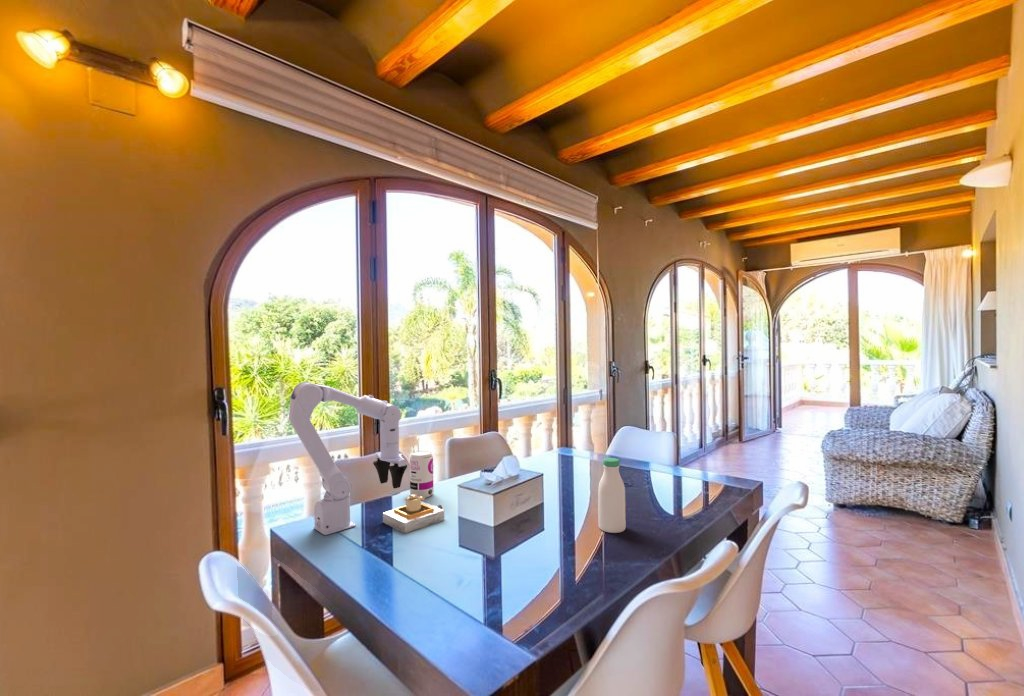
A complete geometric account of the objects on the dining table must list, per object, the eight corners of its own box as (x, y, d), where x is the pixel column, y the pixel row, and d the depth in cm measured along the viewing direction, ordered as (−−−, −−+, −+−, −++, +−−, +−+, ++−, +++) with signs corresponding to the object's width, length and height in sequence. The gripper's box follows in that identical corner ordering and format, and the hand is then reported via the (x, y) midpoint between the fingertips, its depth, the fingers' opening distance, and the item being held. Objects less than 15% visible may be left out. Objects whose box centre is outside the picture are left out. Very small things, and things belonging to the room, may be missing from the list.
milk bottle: (626, 534, 130) (625, 463, 130) (598, 532, 131) (597, 462, 131) (625, 524, 137) (624, 456, 137) (598, 522, 139) (597, 455, 139)
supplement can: (436, 491, 170) (435, 450, 170) (429, 499, 162) (429, 456, 162) (414, 491, 171) (413, 450, 171) (407, 498, 162) (406, 455, 162)
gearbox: (404, 533, 132) (404, 520, 132) (382, 522, 141) (382, 510, 141) (452, 517, 144) (452, 505, 144) (429, 508, 153) (429, 496, 153)
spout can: (411, 525, 138) (411, 498, 138) (403, 521, 141) (402, 495, 141) (428, 519, 143) (428, 493, 143) (419, 516, 146) (419, 490, 146)
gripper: (413, 443, 145) (413, 486, 145) (388, 437, 155) (389, 478, 155) (393, 447, 140) (393, 492, 140) (369, 440, 150) (369, 482, 150)
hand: (390, 485), depth 147 cm, fingers open, 7 cm apart
